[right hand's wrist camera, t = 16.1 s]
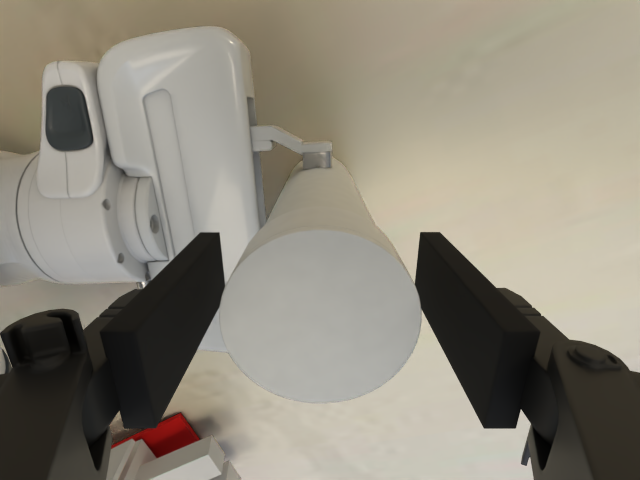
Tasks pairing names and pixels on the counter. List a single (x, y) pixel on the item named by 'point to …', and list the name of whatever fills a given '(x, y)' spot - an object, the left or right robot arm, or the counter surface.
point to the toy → (169, 455)
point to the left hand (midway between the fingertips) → (333, 206)
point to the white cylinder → (320, 307)
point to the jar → (320, 191)
